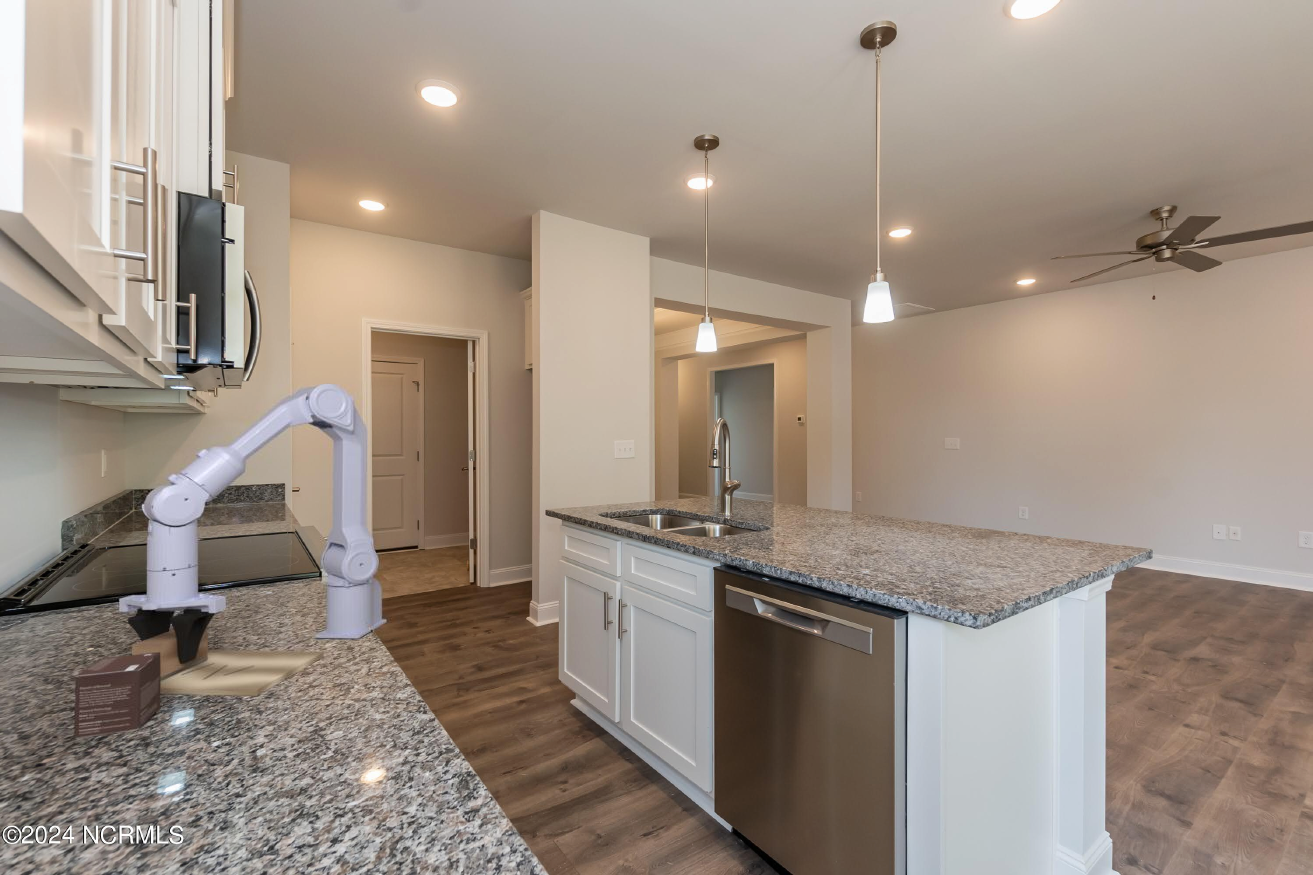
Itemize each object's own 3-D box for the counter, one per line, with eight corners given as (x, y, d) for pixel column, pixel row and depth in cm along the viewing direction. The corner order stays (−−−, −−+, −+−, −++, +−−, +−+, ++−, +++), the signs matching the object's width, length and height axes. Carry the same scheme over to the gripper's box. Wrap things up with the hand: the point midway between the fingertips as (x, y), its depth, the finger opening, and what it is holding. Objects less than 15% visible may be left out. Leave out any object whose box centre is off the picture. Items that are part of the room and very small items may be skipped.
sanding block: (182, 659, 88) (182, 626, 88) (207, 659, 88) (207, 626, 88) (131, 680, 80) (131, 644, 80) (159, 681, 80) (159, 645, 80)
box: (101, 716, 71) (101, 657, 71) (162, 708, 73) (162, 651, 73) (72, 740, 66) (72, 675, 66) (138, 731, 68) (139, 668, 68)
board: (178, 654, 92) (178, 649, 92) (323, 656, 91) (323, 651, 91) (87, 692, 78) (87, 686, 78) (257, 695, 77) (257, 689, 77)
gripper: (97, 572, 80) (97, 670, 80) (197, 573, 80) (196, 672, 79) (145, 562, 87) (144, 652, 87) (237, 563, 87) (236, 653, 87)
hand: (172, 660), depth 84 cm, fingers closed on sanding block, 4 cm apart
